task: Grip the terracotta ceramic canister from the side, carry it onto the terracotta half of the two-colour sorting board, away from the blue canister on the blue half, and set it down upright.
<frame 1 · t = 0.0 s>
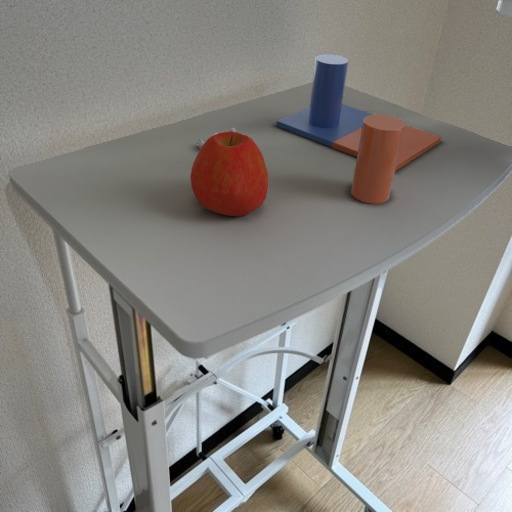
hand: (490, 5, 66), 26 cm above the table, tool pointing down, fingers open, 8 cm apart
terracotta canister: (369, 194, 80), on the table
blue canister: (323, 121, 98), point 1 cm above the table, touching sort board
game pieces: (217, 144, 91), on the table
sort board: (357, 134, 97), on the table
apple: (229, 206, 75), on the table
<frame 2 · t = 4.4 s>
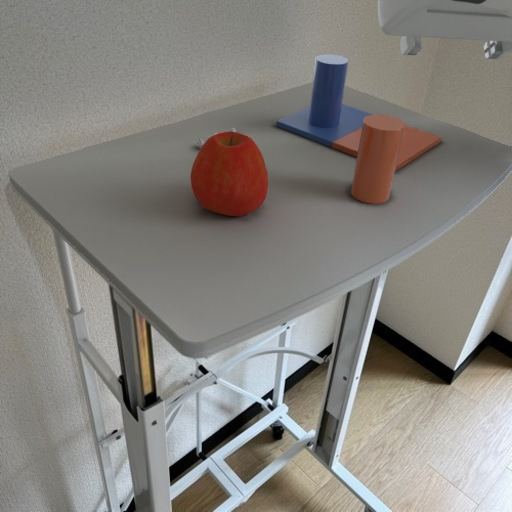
hand: (449, 51, 57), 23 cm above the table, tool tilted 45°, fingers open, 8 cm apart
nothing on the table moved.
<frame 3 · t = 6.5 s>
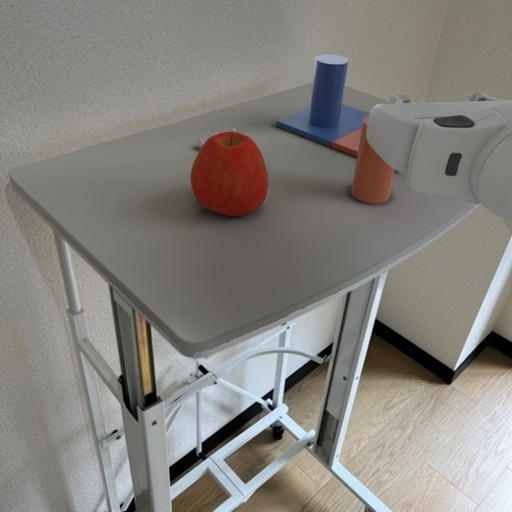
hand: (435, 100, 60), 18 cm above the table, tool horizontal, fingers open, 8 cm apart
nothing on the table moved.
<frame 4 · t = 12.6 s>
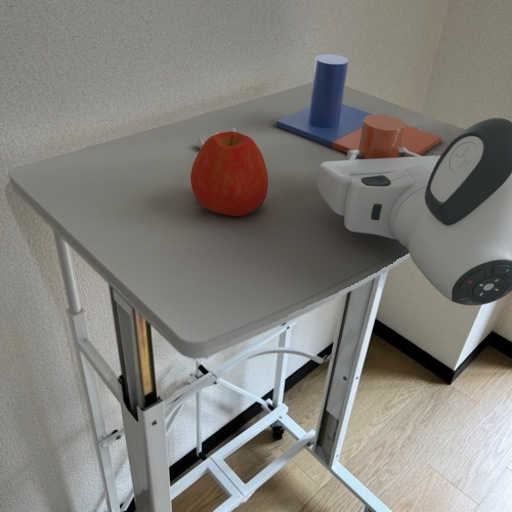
hand: (374, 153, 77), 6 cm above the table, tool horizontal, fingers closed on terracotta canister, 5 cm apart
terracotta canister: (369, 194, 80), on the table, touching gripper
everything else where it was.
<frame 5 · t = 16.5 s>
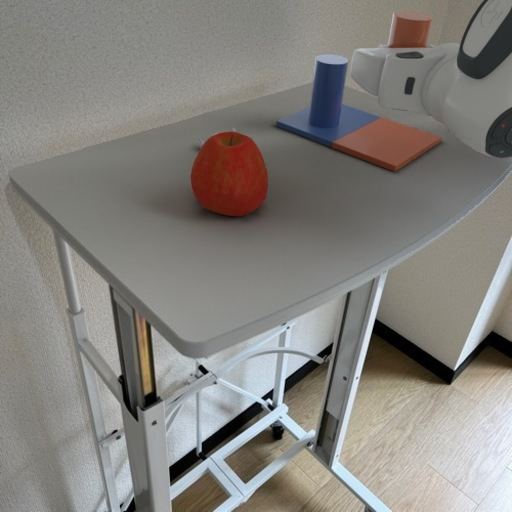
hand: (402, 50, 81), 17 cm above the table, tool horizontal, fingers closed on terracotta canister, 5 cm apart
terracotta canister: (397, 92, 84), point 11 cm above the table, touching gripper
everything else where it was.
when the fingers open (7 cm above the table, at t = 20.5 s): terracotta canister stays where it is, resting on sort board.
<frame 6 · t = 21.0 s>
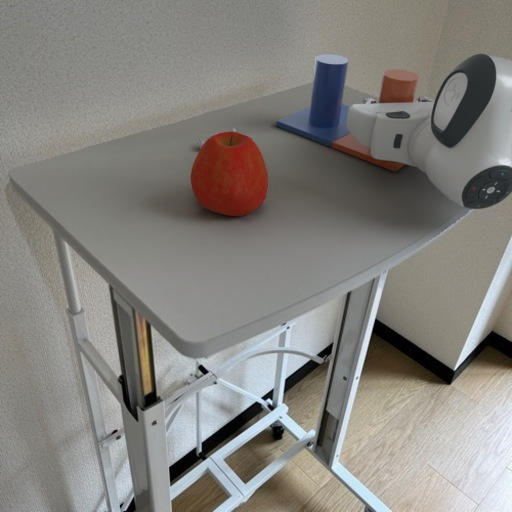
hand: (393, 101, 90), 7 cm above the table, tool horizontal, fingers open, 8 cm apart
terracotta canister: (387, 139, 93), point 1 cm above the table, touching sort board
everything else where it was.
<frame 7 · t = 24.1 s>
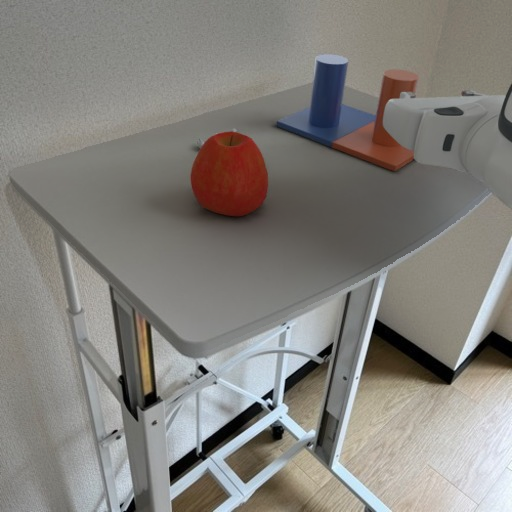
hand: (435, 96, 78), 13 cm above the table, tool horizontal, fingers open, 8 cm apart
nothing on the table moved.
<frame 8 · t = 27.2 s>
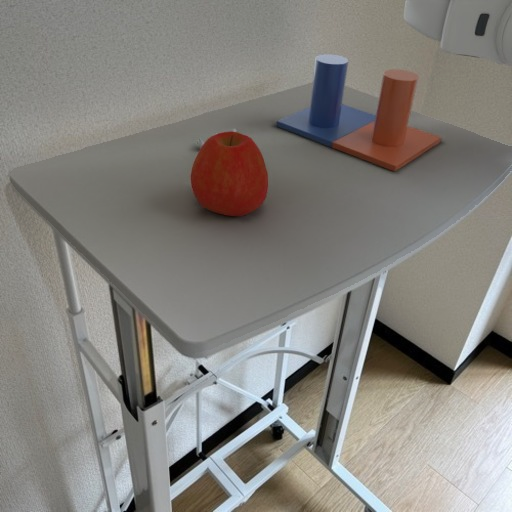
nothing on the table moved.
at the end: terracotta canister inside the target area on the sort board (0.3 cm from its centre), point 1.0 cm above the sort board's base; terracotta canister tilted 0°; blue canister moved 0.0 cm from its start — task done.
